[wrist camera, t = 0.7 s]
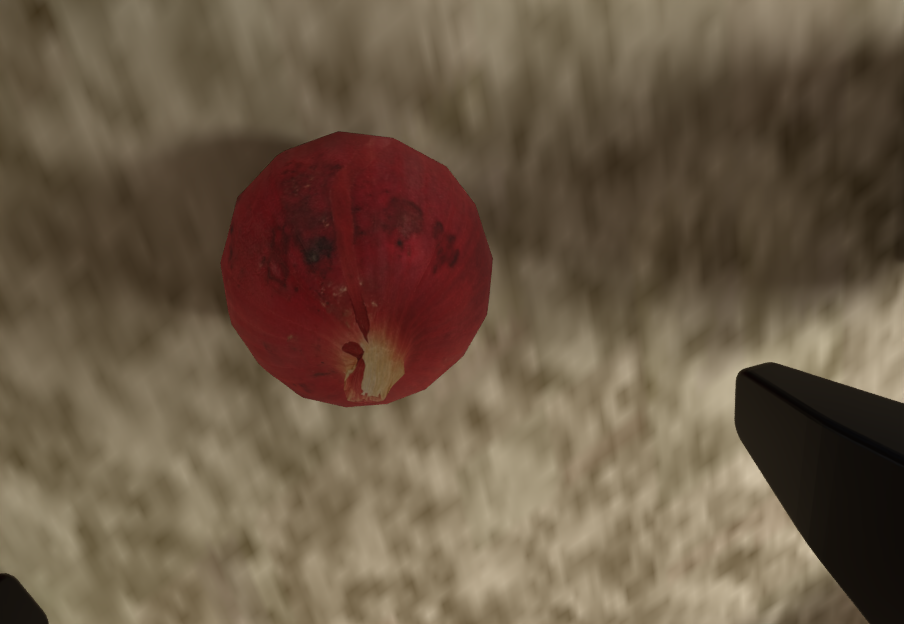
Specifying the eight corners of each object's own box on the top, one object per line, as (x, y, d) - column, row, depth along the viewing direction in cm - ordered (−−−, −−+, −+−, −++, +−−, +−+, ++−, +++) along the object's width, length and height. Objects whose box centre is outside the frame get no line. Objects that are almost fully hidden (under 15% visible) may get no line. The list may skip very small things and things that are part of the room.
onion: (202, 156, 15) (96, 287, 8) (415, 74, 15) (489, 135, 8) (302, 340, 18) (286, 553, 11) (482, 270, 18) (580, 439, 11)
